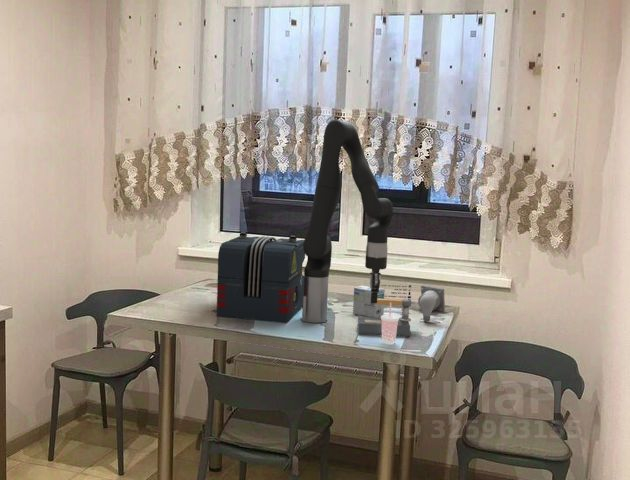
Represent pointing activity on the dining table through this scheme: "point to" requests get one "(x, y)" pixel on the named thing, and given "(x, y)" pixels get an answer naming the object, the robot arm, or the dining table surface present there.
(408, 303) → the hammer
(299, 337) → the dining table surface
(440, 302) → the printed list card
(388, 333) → the beverage cup
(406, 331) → the grey rectangular block
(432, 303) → the lightbulb
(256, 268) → the power unit
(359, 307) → the light bulb box
